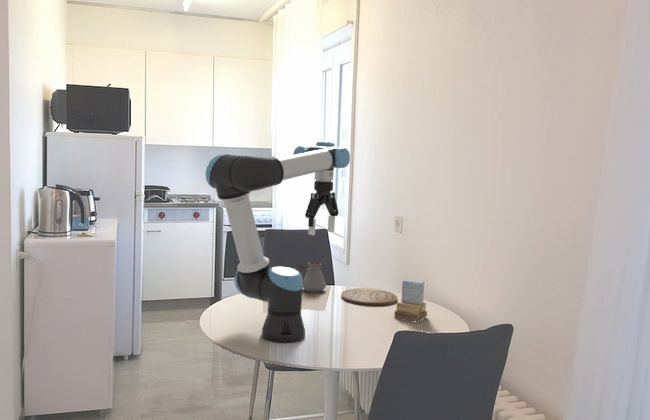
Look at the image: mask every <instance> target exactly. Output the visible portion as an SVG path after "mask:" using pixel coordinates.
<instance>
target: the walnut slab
mask: <svg viewBox="0 0 650 420" xmlns="http://www.w3.org/2000/svg"><path fill="white" fill-rule="evenodd" d="M426 316H427V317H428V310H425V311H424V312H422V313H421V314H419V315H414V314H409V313H404V312H399V311H396V310H395V311H394V318H395V319H397V318H398V319H399V320H402V319H403V321H406V320H408V321H407V322H411V321H416V322H418V321H420V320H421V319H423V318H425V317H426ZM398 319H397V320H398ZM420 322H421V321H420ZM418 323H419V322H418Z"/></svg>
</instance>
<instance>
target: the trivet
mask: <svg viewBox="0 0 650 420" xmlns="http://www.w3.org/2000/svg"><path fill="white" fill-rule="evenodd" d="M340 295H341V299H342V300H343V301H345V302H346V303H350V304H353V305H359V306H366V307H383V306H384V307H385V306H390V305H394V304H397V302H398V296H397V295H396V294H395V293H394V292H390V291H387V290H382V289H378V288H365V287H361V288H359V287H358V288H350V289H345V290H343V291H341V294H340Z"/></svg>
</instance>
